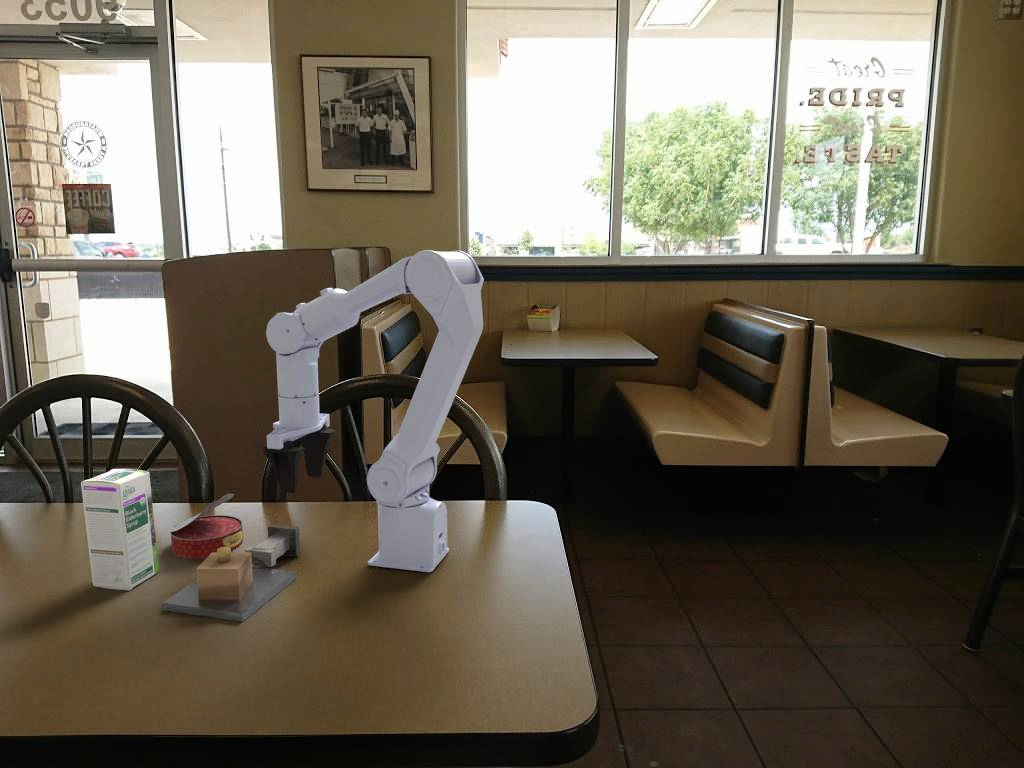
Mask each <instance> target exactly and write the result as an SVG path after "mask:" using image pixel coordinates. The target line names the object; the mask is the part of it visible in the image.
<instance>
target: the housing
mask: <svg viewBox="0 0 1024 768" xmlns="http://www.w3.org/2000/svg"><path fill="white" fill-rule="evenodd" d="M252 566H253V564H252V555H251V552H245V551H244V552H243V551H241V552H239V551H238V552H233V551H231V548H230V547H221V548H218V549H217V552H212V553H211V554H210V555H209V556H208V557H207V558H204V560H203V561H202V563H200V564H199V566H197V568H196V571H195V572H196V580H197V585H198V599H199V600H240V599H241V597H242V596H243V595H244V593H245V592H246V590H247V589H248V588H249V586H250V585H251V584H252V582H253V573H252Z"/></svg>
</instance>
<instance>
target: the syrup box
mask: <svg viewBox="0 0 1024 768" xmlns="http://www.w3.org/2000/svg"><path fill="white" fill-rule="evenodd" d="M150 477H151V475H150V472H149V471H147V470H142V469H135V468H112V469H110V470H109V471H107V472H104V473H101V474H99V475H97V476H94V477H92V478H89V479H85V480H82V481H81V482H80V487H81V494H82V495H81V497H82V504H83V511H84V514H83V515H84V521H85V530H86V537H87V539H86V540H87V547H88V556H89V557H88V558H89V563H90V566H89V567H90V572H91V582H92V583H91V584H92V585H93V587H96V588H102V589H111V590H119V591H131V590H133V589H134V588H135V587H136V586H138V585H140V584H141V583H143V582H145V581H146V580H148V579H149V578H151V577H153V576H154V575H157V574H158V573H159V572H160V567H159V559H158V547H157V536H156V528H155V519H154V518H155V514H154V508H153V507H154V506H153V496H152V487H151V478H150Z"/></svg>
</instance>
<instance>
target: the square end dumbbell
mask: <svg viewBox="0 0 1024 768" xmlns="http://www.w3.org/2000/svg"><path fill="white" fill-rule="evenodd" d="M300 539H301V538H300V527H299V526H291V525H284V524H283V525H282V524H273V523H271V524H270V525H268V526H267V538H266V539H264V540H263V541H261V542H260V543H258V544H257V545H255V546H254V547H252V546H248V547H246V548H245V549H244V552H251V555H252V566H253V565H254V566H263V567H271V568H272V567H273V566H275V565H276V564H277V559H278V558H280V557H281V556H289V557H298V556H299V555H300V554H301V541H300Z"/></svg>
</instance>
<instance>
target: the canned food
mask: <svg viewBox="0 0 1024 768" xmlns="http://www.w3.org/2000/svg"><path fill="white" fill-rule="evenodd" d="M234 496H235V494H234V493H227V494H225V495H223V496H221V497H220V498H219V499H217V500H215V501H212V502H211V503H209V505H207V506H206V507H205V508H204V509H203V511H202V512H200V513H198V514H196V515H194V516H192V517H190V518H189V517H188V518H187V519H186V520H183V521H181V522H180V523H177V524H175V525H174V526H173V527H172V528H171V529H170V531H169V532H170V533H169V534H170V538H171V539H170V540H171V550H172V553H173V555H175V554H176V555H175V556H177V557H179V556H180V558H183V557H186V558H185V559H192V558H197V559H206V558H207V557H208V556H209V555H210V554H211V553H212V552H217V549H218V548H221V547H230V548H231V552H233V550H234V551H235V550H237V549H238V547H239V546H240V545H241V544H243V543H244V535H243V534H244V531H243V530H244V529H243V522H242V520H241V519H240V518H238V517H236V516H232V515H224V514H223V515H222V514H221V515H220V514H219V515H217V514H214V515H206V514H207V513H209V512H210V511H212V510H213V509H215V508H216V507H219V506H221V505H222V504H223V503H225V502H227V501H229V500H230V499H231V498H233V497H234ZM204 515H206V516H204ZM242 542H243V543H242ZM241 546H242V545H241ZM241 546H240V547H241ZM240 547H239V548H240ZM236 548H237V549H236Z"/></svg>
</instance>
